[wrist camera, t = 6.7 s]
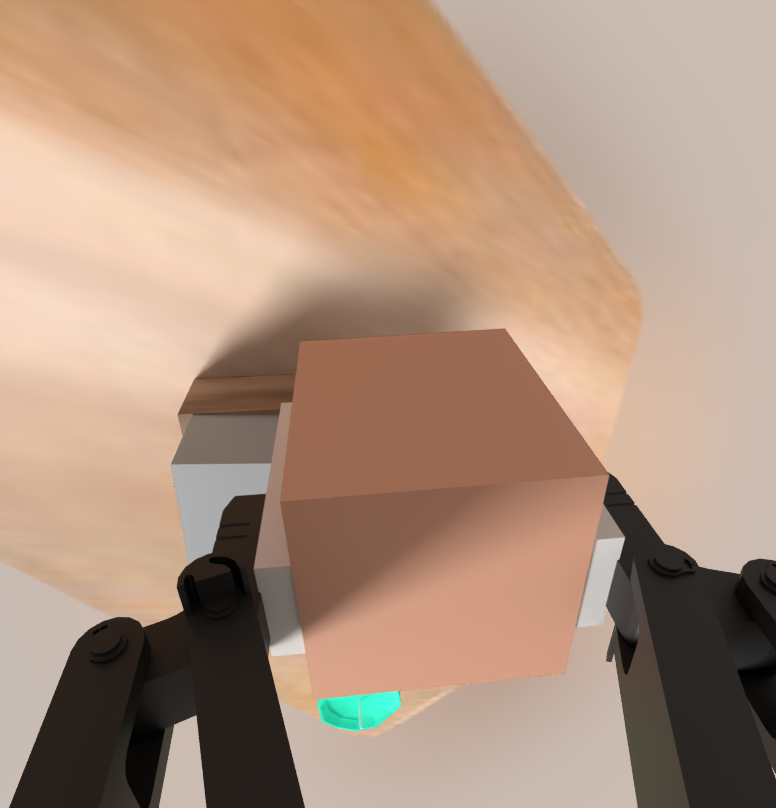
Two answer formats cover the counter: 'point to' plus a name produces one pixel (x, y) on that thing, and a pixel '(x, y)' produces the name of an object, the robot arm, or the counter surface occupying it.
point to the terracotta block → (434, 513)
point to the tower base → (237, 396)
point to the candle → (359, 710)
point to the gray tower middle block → (219, 471)
